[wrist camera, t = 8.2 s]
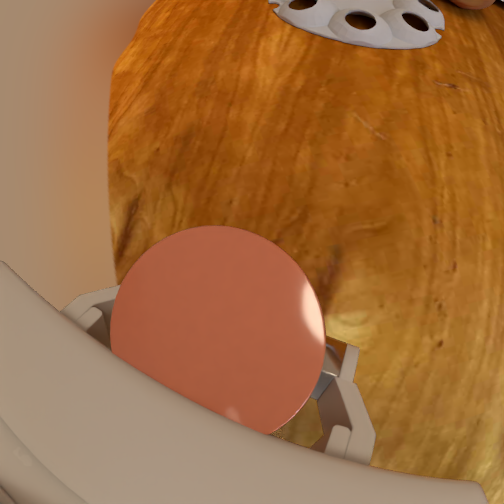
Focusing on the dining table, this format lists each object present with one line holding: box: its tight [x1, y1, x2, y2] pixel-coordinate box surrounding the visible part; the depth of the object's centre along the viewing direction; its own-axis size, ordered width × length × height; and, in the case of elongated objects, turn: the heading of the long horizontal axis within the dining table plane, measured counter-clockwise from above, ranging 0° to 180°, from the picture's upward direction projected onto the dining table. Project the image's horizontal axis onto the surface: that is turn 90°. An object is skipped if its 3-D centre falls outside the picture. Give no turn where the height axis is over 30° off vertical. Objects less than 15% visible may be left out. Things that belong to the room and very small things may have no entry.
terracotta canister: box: [110, 225, 326, 435], centre depth 12 cm, size 6×6×10 cm
